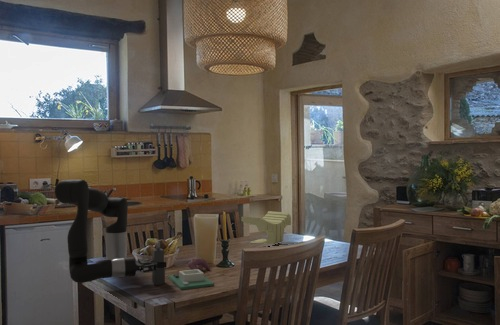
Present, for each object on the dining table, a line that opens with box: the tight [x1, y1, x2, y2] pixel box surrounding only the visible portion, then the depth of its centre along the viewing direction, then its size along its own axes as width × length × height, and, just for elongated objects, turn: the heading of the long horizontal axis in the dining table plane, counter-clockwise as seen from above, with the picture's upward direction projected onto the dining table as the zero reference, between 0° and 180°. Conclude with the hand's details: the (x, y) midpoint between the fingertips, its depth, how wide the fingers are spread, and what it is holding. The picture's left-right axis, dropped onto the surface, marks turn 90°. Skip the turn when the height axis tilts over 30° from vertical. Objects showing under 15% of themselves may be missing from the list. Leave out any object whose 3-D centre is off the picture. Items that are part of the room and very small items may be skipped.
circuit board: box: [167, 269, 215, 291], centre depth 200 cm, size 20×14×4 cm
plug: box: [151, 241, 166, 286], centre depth 198 cm, size 4×5×17 cm
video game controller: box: [187, 257, 211, 271], centre depth 219 cm, size 10×5×7 cm, turn 141°
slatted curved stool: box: [241, 210, 292, 244], centre depth 282 cm, size 30×16×18 cm, turn 147°
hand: (164, 263), depth 199 cm, fingers closed on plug, 4 cm apart
